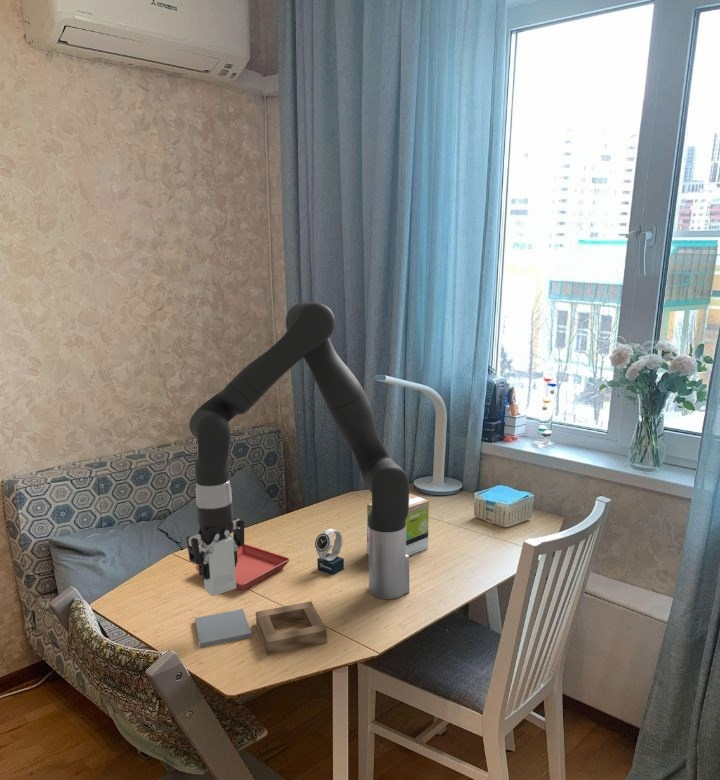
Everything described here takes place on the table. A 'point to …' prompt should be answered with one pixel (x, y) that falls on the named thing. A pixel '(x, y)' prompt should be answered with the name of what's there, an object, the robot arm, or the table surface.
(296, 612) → the walnut collar
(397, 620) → the table surface
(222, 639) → the slate mat
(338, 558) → the watch
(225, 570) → the skincare box
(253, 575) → the plant saucer
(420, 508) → the tea box
